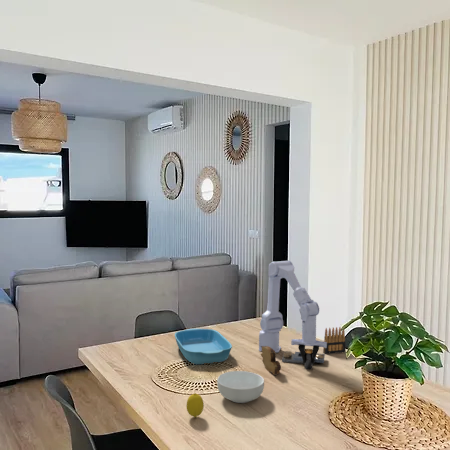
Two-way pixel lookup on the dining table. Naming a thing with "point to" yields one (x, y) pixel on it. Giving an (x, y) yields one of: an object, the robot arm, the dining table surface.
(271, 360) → the wooden carving
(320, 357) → the chain end right
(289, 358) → the chain end left
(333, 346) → the ammunition clip
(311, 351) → the pin
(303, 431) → the dining table surface
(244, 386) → the cereal bowl
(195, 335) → the casserole dish
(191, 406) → the lemon
